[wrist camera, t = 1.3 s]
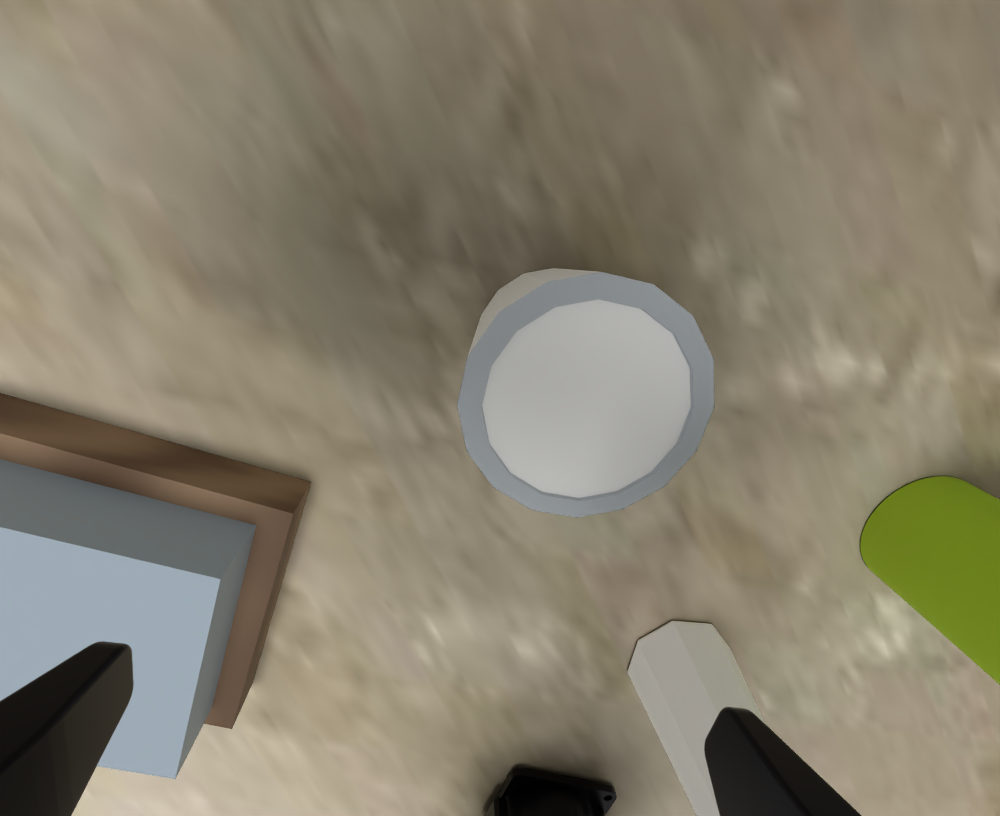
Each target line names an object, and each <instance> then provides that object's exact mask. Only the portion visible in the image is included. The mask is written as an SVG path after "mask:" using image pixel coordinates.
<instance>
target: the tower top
mask: <svg viewBox="0 0 1000 816" xmlns="http://www.w3.org/2000/svg"><path fill="white" fill-rule="evenodd" d="M255 529H256V525H253V524H249V523H246V522H242V521H238V520H234V519H230V518H226V517H222V516H218V515H215V514H211V513H207V512H203V511H199V510H195V509H191V508H188V507H184V506H180V505H176V504H172V503H168V502H164V501H160V500H157V499H153V498H149V497H145V496H141V495H137V494H133V493H130V492H126V491H122V490H118V489H114V488H110V487H106V486H102V485H99V484H95V483H91V482H87V481H83V480H79V479H75V478H72V477H68V476H64V475H60V474H56V473H52V472H48V471H44V470H41V469H37V468H33V467H29V466H25V465H21V464H17V463H14V462H10V461H6V460H2V459H0V701H1V700H2V699H4V698H6V697H7V696H9V695H11V694H12V693H14V692H15V691H17V690H19V689H20V688H22V687H23V686H25V685H27V684H28V683H30V682H31V681H33V680H35V679H36V678H38V677H39V676H41V675H43V674H44V673H46V672H47V671H49V670H51V669H52V668H54V667H55V666H57V665H59V664H60V663H62V662H63V661H65V660H67V659H68V658H70V657H72V656H73V655H75V654H76V653H78V652H80V651H81V650H83V649H84V648H86V647H88V646H89V645H91V644H93V643H96V642H101V641H105V642H114V643H124V644H128V645H129V646H130V647H131V649H132V661H133V681H134V686H133V692H132V696H131V699H130V701H129V704H128V706H127V708H126V710H125V712H124V714H123V716H122V718H121V720H120V722H119V724H118V725H117V727H116V729H115V731H114V733H113V735H112V737H111V739H110V741H109V743H108V745H107V747H106V749H105V751H104V753H103V755H102V757H101V759H100V761H99V763H98V764H97V766H99V767H105V768H111V769H117V770H123V771H130V772H136V773H142V774H148V775H154V776H160V777H166V778H172V779H176V777H177V775H178V773H179V771H180V769H181V767H182V765H183V763H184V761H185V759H186V757H187V755H188V753H189V751H190V749H191V747H192V745H193V743H194V741H195V739H196V738H197V736H198V734H199V732H200V730H201V728H202V726H203V724H204V722H205V720H206V718H207V716H208V714H209V712H210V710H211V708H212V704H213V700H214V696H215V692H216V688H217V684H218V680H219V676H220V672H221V668H222V664H223V660H224V655H225V651H226V647H227V643H228V639H229V635H230V631H231V627H232V623H233V619H234V615H235V611H236V607H237V602H238V598H239V594H240V590H241V586H242V582H243V578H244V574H245V570H246V566H247V562H248V558H249V554H250V549H251V545H252V541H253V537H254V533H255Z"/></svg>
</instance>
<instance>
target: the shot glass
mask: <svg viewBox="0 0 1000 816" xmlns="http://www.w3.org/2000/svg"><path fill="white" fill-rule="evenodd" d="M457 407H458V412H459V417H460V422H461V426H462V431H463V436H464V440H465V445H466V450H467V452H468V454H469V455H470V456H471V458H472V459H473V460H474V462H475V463H476V464H477V466H478V467H479V469H480V470H481V471H482V473H483V474H484V475H485V477H486V478H487V479H488V481H489V482H490V483H491V485H492V486H493V488H495V489H497V490H499V491H500V492H502V493H504V494H505V495H507V496H509V497H510V498H512V499H514V500H516V501H517V502H519V503H521V504H522V505H524V506H526V507H527V508H529V509H531V510H534V511H540V512H546V513H552V514H558V515H564V516H570V517H576V518H577V517H583V516H588V515H594V514H599V513H605V512H611V511H616V510H622V509H624V508H626V507H628V506H630V505H631V504H633V503H635V502H637V501H639V500H640V499H642V498H644V497H646V496H648V495H650V494H651V493H653V492H655V491H657V490H659V489H660V488H662V487H664V486H665V485H666V484H667V483H668V482H669V481H670V479H671V478H672V477H673V476H674V475H675V474H676V473H677V472H678V471H679V470H680V468H681V467H682V466H683V465H684V464H685V463H686V462H687V461H688V460H689V459H690V457H691V456H692V455H693V454H694V453H695V452H696V451H697V448H698V446H699V443H700V441H701V438H702V436H703V433H704V431H705V428H706V426H707V423H708V421H709V418H710V416H711V414H712V411H713V409H714V359H713V357H712V355H711V352H710V350H709V348H708V346H707V344H706V342H705V340H704V338H703V336H702V333H701V331H700V329H699V327H698V325H697V323H696V321H695V319H694V317H693V315H692V314H690V313H689V312H688V311H687V310H685V309H684V308H683V307H682V306H680V305H679V304H678V303H677V302H675V301H674V300H673V299H672V298H670V297H669V296H668V295H667V294H665V293H664V292H663V291H662V290H660V289H659V288H658V287H657V286H655V285H654V284H650V283H646V282H642V281H638V280H634V279H629V278H625V277H621V276H617V275H613V274H608V273H604V272H597V271H584V270H571V269H558V268H551V269H545V270H540V271H534V272H528V273H523V274H522V275H520V276H519V277H517V278H516V279H514V280H513V281H511V282H509V283H508V284H506V285H505V286H503V287H502V288H500V289H499V290H498V291H497V292H496V294H495V295H494V297H493V298H492V300H491V301H490V302H489V304H488V305H487V307H486V308H485V310H484V311H483V313H482V314H481V317H480V320H479V323H478V326H477V329H476V332H475V335H474V338H473V341H472V344H471V348H470V351H469V354H468V357H467V362H466V366H465V371H464V375H463V380H462V385H461V389H460V394H459V399H458V403H457Z"/></svg>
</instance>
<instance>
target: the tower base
mask: <svg viewBox="0 0 1000 816" xmlns="http://www.w3.org/2000/svg"><path fill="white" fill-rule="evenodd" d="M0 459H2V460H6V461H10V462H14V463H17V464H21V465H25V466H29V467H33V468H37V469H41V470H44V471H48V472H52V473H56V474H60V475H64V476H68V477H72V478H75V479H79V480H83V481H87V482H91V483H95V484H99V485H102V486H106V487H110V488H114V489H118V490H122V491H126V492H130V493H133V494H137V495H141V496H145V497H149V498H153V499H157V500H160V501H164V502H168V503H172V504H176V505H180V506H184V507H188V508H191V509H195V510H199V511H203V512H207V513H211V514H215V515H218V516H222V517H226V518H230V519H234V520H238V521H242V522H246V523H249V524H253V525H256V529H255V533H254V537H253V541H252V545H251V549H250V554H249V558H248V562H247V566H246V570H245V574H244V578H243V582H242V586H241V590H240V594H239V598H238V602H237V607H236V611H235V615H234V619H233V623H232V627H231V631H230V635H229V639H228V643H227V647H226V651H225V655H224V660H223V664H222V668H221V672H220V676H219V680H218V684H217V688H216V692H215V696H214V700H213V704H212V708H211V710H210V712H209V714H208V716H207V718H206V720H205V722H204V724H209V725H214V726H220V727H225V728H230V729H232V728H233V725H234V723H235V721H236V719H237V716H238V714H239V712H240V710H241V708H242V705H243V703H244V701H245V699H246V696H247V694H248V692H249V690H250V688H251V685H252V683H253V680H254V676H255V673H256V669H257V666H258V662H259V659H260V656H261V652H262V649H263V645H264V642H265V638H266V635H267V632H268V628H269V625H270V621H271V618H272V614H273V611H274V608H275V604H276V601H277V597H278V594H279V591H280V587H281V584H282V580H283V577H284V573H285V570H286V567H287V563H288V560H289V556H290V553H291V549H292V546H293V543H294V539H295V536H296V532H297V529H298V525H299V522H300V519H301V515H302V512H303V508H304V505H305V502H306V498H307V495H308V491H309V488H310V484H311V482H308V481H305V480H301V479H298V478H294V477H291V476H287V475H284V474H280V473H277V472H273V471H270V470H266V469H263V468H259V467H256V466H252V465H249V464H246V463H242V462H239V461H235V460H232V459H228V458H225V457H221V456H218V455H214V454H211V453H207V452H204V451H200V450H197V449H193V448H190V447H186V446H183V445H179V444H176V443H172V442H169V441H165V440H162V439H158V438H155V437H151V436H148V435H144V434H141V433H137V432H134V431H130V430H127V429H123V428H120V427H117V426H113V425H110V424H106V423H103V422H99V421H96V420H92V419H89V418H85V417H82V416H78V415H75V414H71V413H68V412H64V411H61V410H57V409H54V408H50V407H47V406H43V405H40V404H36V403H33V402H29V401H26V400H22V399H19V398H15V397H12V396H8V395H5V394H1V393H0Z"/></svg>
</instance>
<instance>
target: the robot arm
mask: <svg viewBox="0 0 1000 816" xmlns="http://www.w3.org/2000/svg"><path fill="white" fill-rule="evenodd" d="M133 686H134V681H133V661H132V649H131V647H130V646H129V645H128V644H124V643H114V642H105V641H101V642H96V643H93V644H91V645H89V646H88V647H86V648H84V649H83V650H81V651H80V652H78V653H76V654H75V655H73V656H72V657H70V658H68V659H67V660H65V661H63V662H62V663H60V664H59V665H57V666H55V667H54V668H52V669H51V670H49V671H47V672H46V673H44V674H43V675H41V676H39V677H38V678H36V679H35V680H33V681H31V682H30V683H28V684H27V685H25V686H23V687H22V688H20V689H19V690H17V691H15V692H14V693H12V694H11V695H9V696H7V697H6V698H4V699H2V700H1V701H0V816H71V815H72V813H73V811H74V809H75V807H76V805H77V803H78V801H79V800H80V798H81V796H82V794H83V792H84V790H85V788H86V786H87V784H88V782H89V780H90V778H91V776H92V774H93V772H94V770H95V768H96V766H97V764H98V763H99V761H100V759H101V757H102V755H103V753H104V751H105V749H106V747H107V745H108V743H109V741H110V739H111V737H112V735H113V733H114V731H115V729H116V727H117V725H118V724H119V722H120V720H121V718H122V716H123V714H124V712H125V710H126V708H127V706H128V704H129V701H130V699H131V696H132V692H133ZM704 752H705V759H706V763H707V767H708V771H709V775H710V779H711V783H712V787H713V791H714V795H715V799H716V803H717V807H718V811H719V815H720V816H861V815H860V814H859V813H858V812H857V811H856V810H855V809H854V808H853V807H852V806H851V805H850V804H849V803H848V802H847V801H846V800H844V799H843V798H842V797H841V796H840V795H839V794H838V793H837V792H836V791H835V790H834V789H833V788H832V787H831V786H830V785H829V784H828V783H827V782H826V781H824V780H823V779H822V778H821V777H820V776H819V775H818V774H817V773H816V772H815V771H814V770H813V769H812V768H811V767H810V766H809V765H808V764H807V763H806V762H804V761H803V760H802V759H801V758H800V757H799V756H798V755H797V754H796V753H795V752H794V751H793V750H792V749H791V748H790V747H789V746H788V745H787V744H786V743H785V742H783V741H782V740H781V739H780V738H779V737H778V736H777V735H776V734H775V733H774V732H773V731H772V730H771V729H770V728H769V727H768V726H767V725H766V724H765V723H763V722H762V721H761V720H760V719H759V718H758V717H757V716H756V715H755V714H754V713H753V712H751V711H750V710H747V709H744V708H735V707H725V708H723V709H722V710H721V711H720V712H719V714H718V716H717V718H716V720H715V722H714V724H713V725H712V727H711V729H710V731H709V733H708V735H707V737H706V739H705V744H704ZM616 798H617V797H616V793H615V789H614V787H613V786H611V785H606V784H601V783H596V782H591V781H586V780H581V779H576V778H571V777H566V776H561V775H556V774H551V773H546V772H541V771H536V770H531V769H526V768H516V769H514V770H512V771H511V773H510V775H509V776H508V778H507V780H506V782H505V783H504V785H503V787H502V789H501V790H500V792H499V794H498V796H497V797H496V798H495V799H494V800H493V802H492V804H491V805H490V807H489V809H488V811H487V812H486V814H485V816H605V814H606V813H607V812H608V810H609V809H610V807H611V806H612V804H613V803H614V801H615V800H616Z"/></svg>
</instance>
